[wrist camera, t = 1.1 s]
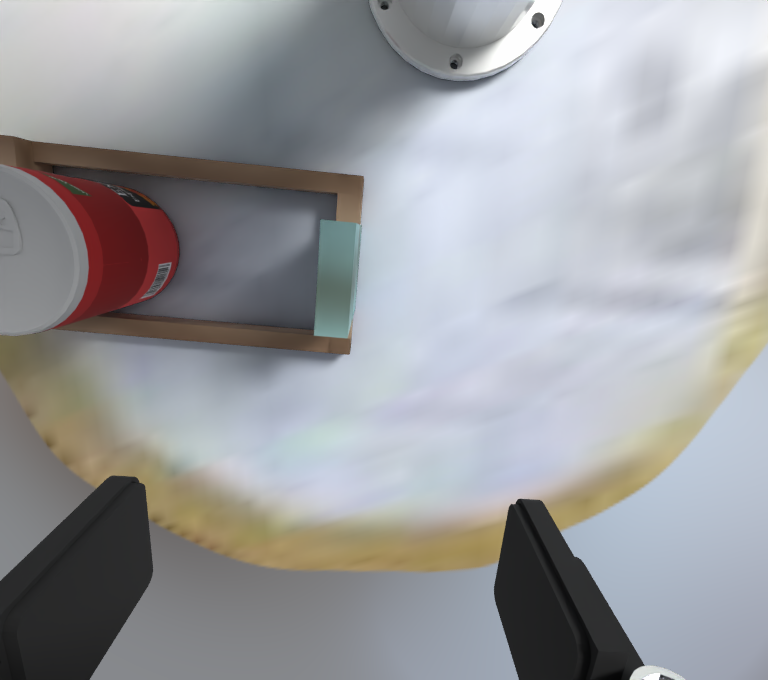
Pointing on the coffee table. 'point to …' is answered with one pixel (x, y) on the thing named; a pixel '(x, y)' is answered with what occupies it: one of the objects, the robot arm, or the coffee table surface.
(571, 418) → the coffee table surface
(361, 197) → the wooden rectangular frame
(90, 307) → the canned food
